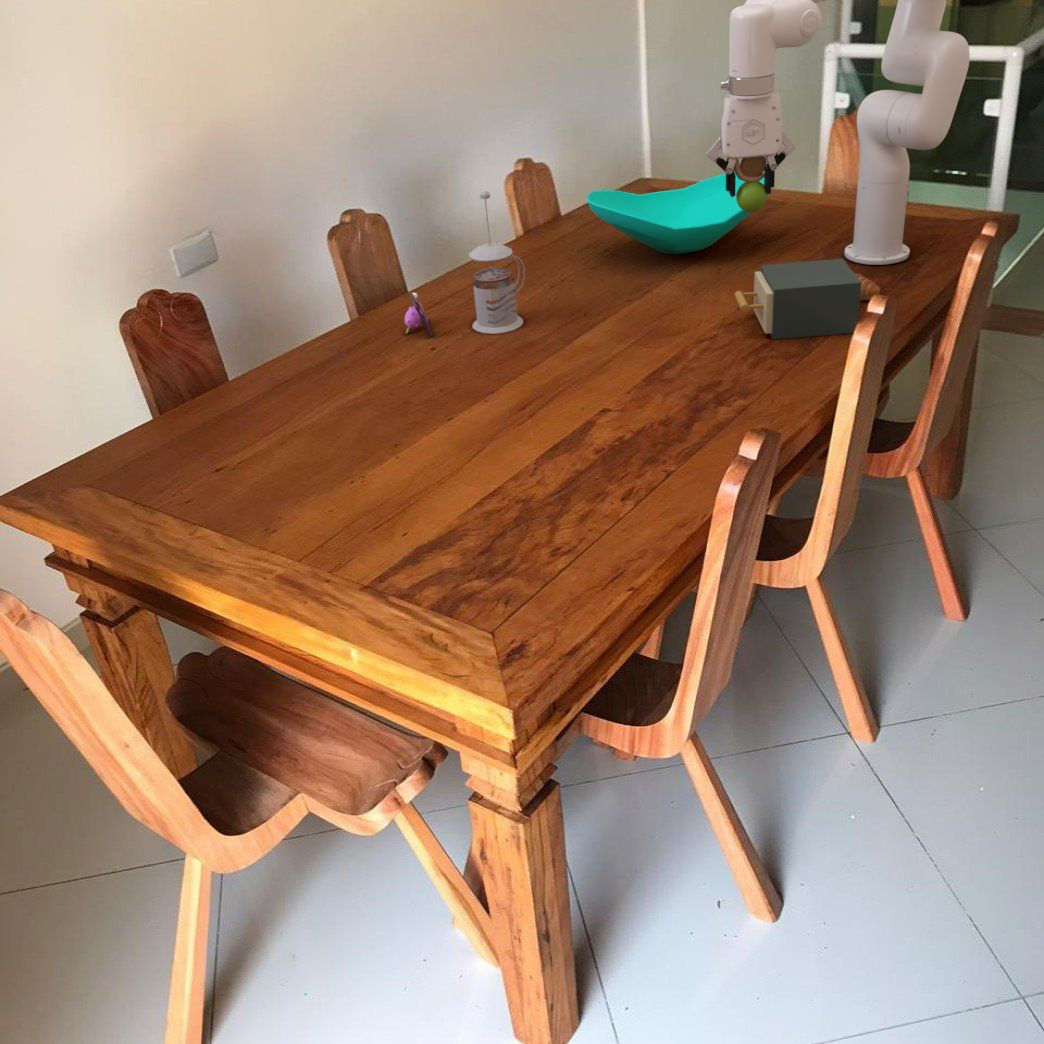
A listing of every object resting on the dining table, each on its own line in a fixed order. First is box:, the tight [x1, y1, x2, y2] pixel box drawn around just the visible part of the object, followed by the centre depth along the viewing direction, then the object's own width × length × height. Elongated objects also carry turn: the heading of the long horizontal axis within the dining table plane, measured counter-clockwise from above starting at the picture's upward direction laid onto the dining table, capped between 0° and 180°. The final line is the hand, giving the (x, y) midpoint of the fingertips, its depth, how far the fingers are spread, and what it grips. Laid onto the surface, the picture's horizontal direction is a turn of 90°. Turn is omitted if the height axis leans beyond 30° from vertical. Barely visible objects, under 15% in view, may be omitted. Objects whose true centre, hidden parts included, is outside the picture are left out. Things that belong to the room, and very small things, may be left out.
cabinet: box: [760, 258, 861, 340], centre depth 194 cm, size 15×13×9 cm
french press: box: [468, 190, 526, 335], centre depth 203 cm, size 10×12×25 cm
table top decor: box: [585, 171, 769, 255], centre depth 233 cm, size 40×28×13 cm
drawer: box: [734, 270, 774, 335], centre depth 194 cm, size 17×11×7 cm, turn 90°
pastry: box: [853, 272, 881, 302], centre depth 205 cm, size 9×7×4 cm
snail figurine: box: [734, 156, 768, 213], centre depth 193 cm, size 5×6×12 cm
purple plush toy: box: [404, 290, 434, 338], centre depth 208 cm, size 7×5×9 cm
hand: (749, 192), depth 195 cm, fingers closed on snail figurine, 5 cm apart
